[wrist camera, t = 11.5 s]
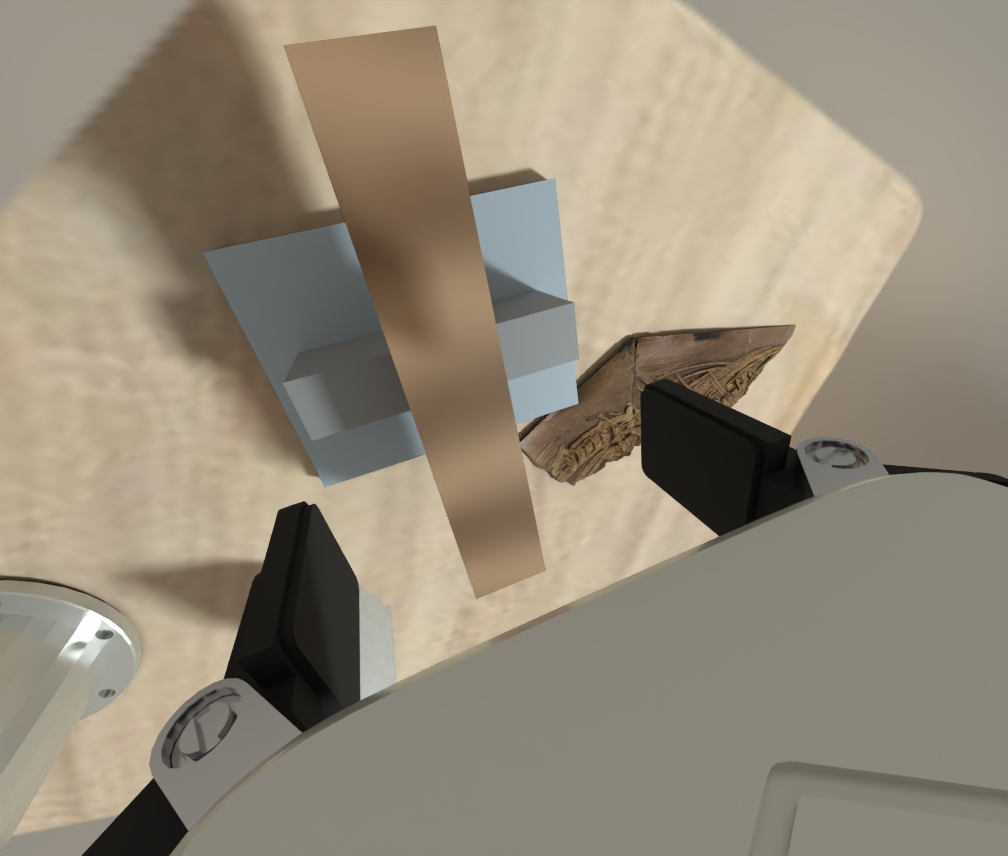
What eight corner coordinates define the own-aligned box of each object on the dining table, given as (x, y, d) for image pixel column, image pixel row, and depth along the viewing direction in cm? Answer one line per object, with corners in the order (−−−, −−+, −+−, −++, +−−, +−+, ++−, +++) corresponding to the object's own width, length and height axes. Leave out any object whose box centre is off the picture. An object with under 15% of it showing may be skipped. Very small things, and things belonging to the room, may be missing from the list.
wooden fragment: (528, 499, 33) (533, 507, 32) (498, 380, 27) (502, 385, 26) (779, 397, 37) (789, 401, 36) (796, 276, 32) (809, 278, 31)
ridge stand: (325, 478, 26) (317, 539, 21) (208, 251, 19) (153, 258, 14) (572, 398, 29) (616, 434, 24) (547, 180, 22) (602, 165, 17)
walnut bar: (303, 92, 13) (283, 45, 10) (418, 75, 14) (435, 25, 11) (460, 547, 24) (476, 598, 21) (520, 524, 25) (545, 570, 22)
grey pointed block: (331, 566, 29) (319, 704, 21) (390, 607, 33) (401, 740, 24) (291, 595, 29) (261, 745, 21) (354, 633, 33) (352, 775, 24)
